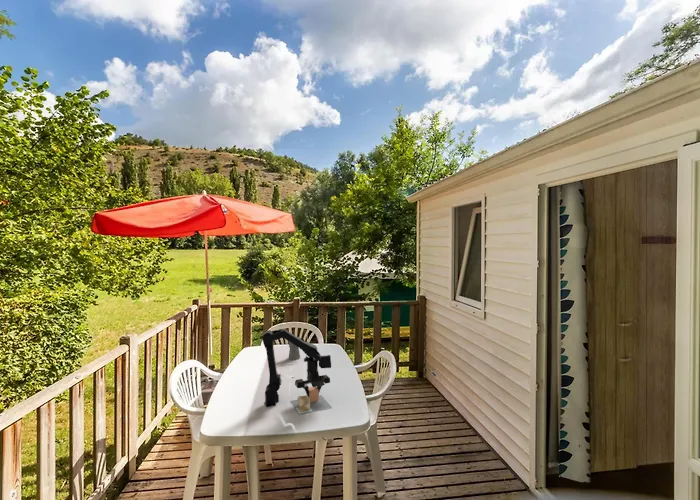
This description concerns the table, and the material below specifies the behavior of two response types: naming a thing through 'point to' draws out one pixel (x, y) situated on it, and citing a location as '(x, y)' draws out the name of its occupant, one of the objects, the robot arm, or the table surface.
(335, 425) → the table surface
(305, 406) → the maple block
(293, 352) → the coffeepot
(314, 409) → the board
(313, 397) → the terracotta block
